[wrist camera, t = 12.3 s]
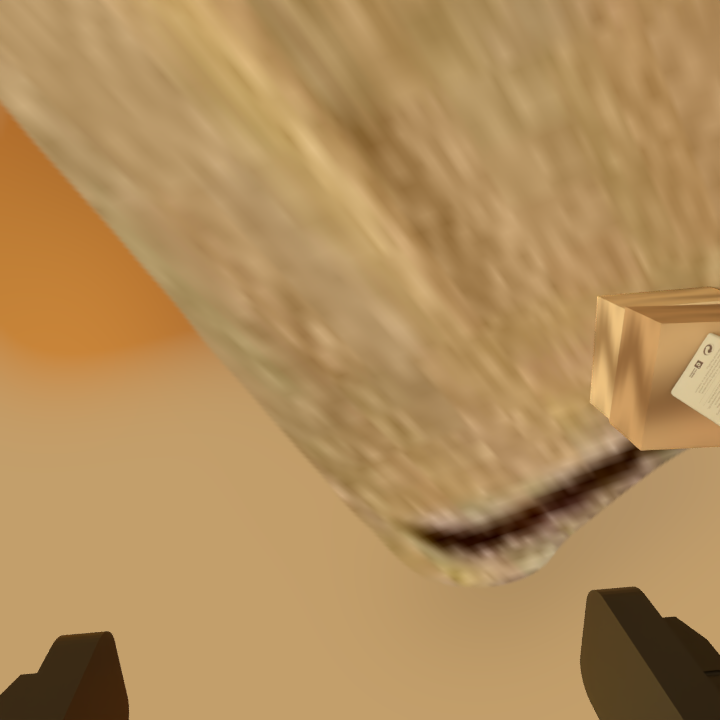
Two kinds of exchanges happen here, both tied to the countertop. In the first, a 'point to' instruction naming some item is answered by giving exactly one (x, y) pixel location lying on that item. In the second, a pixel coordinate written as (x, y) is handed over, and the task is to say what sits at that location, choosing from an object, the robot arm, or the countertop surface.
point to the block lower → (611, 330)
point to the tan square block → (661, 376)
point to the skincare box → (702, 380)
